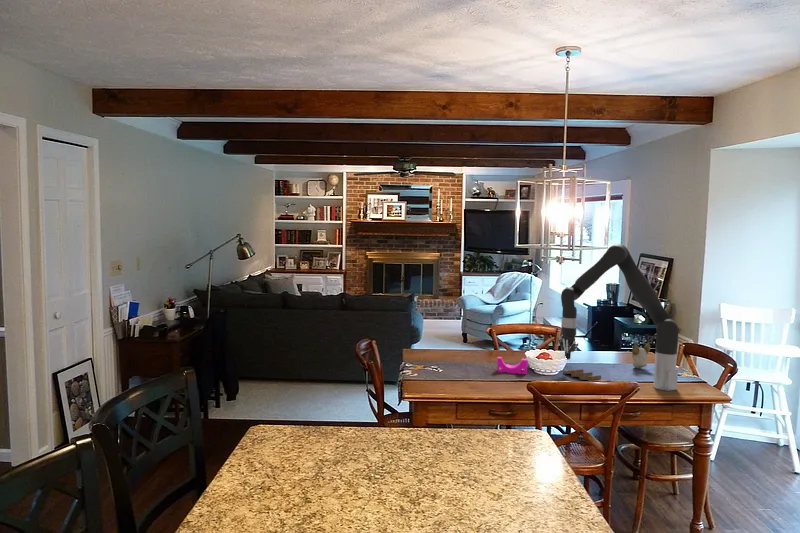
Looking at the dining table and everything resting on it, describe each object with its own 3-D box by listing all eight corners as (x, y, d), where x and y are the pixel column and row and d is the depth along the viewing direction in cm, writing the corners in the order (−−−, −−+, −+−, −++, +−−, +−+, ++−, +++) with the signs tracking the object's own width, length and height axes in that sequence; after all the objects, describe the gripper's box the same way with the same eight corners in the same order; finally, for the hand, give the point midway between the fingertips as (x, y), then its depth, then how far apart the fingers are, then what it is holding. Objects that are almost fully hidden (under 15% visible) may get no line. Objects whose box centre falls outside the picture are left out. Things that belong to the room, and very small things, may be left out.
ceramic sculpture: (641, 366, 313) (642, 339, 311) (652, 370, 304) (653, 342, 303) (624, 367, 310) (626, 340, 309) (634, 371, 302) (636, 343, 300)
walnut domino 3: (587, 378, 284) (601, 378, 275) (579, 379, 282) (593, 379, 273) (586, 375, 285) (601, 375, 276) (578, 376, 282) (593, 376, 273)
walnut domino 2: (579, 376, 289) (592, 375, 281) (571, 376, 287) (584, 376, 278) (578, 372, 290) (592, 372, 281) (570, 373, 288) (584, 373, 279)
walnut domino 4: (596, 382, 278) (611, 383, 269) (588, 383, 276) (602, 384, 267) (596, 378, 278) (610, 380, 269) (588, 379, 276) (602, 381, 267)
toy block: (526, 371, 297) (527, 357, 296) (526, 374, 291) (527, 360, 290) (497, 369, 300) (498, 355, 300) (497, 372, 294) (497, 358, 293)
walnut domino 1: (570, 373, 295) (583, 372, 286) (563, 373, 293) (575, 373, 284) (570, 369, 295) (583, 369, 286) (562, 370, 293) (575, 370, 284)
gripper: (554, 324, 297) (553, 357, 298) (572, 328, 285) (570, 362, 286) (565, 323, 300) (564, 355, 301) (583, 327, 288) (582, 361, 289)
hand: (567, 359), depth 294 cm, fingers closed
